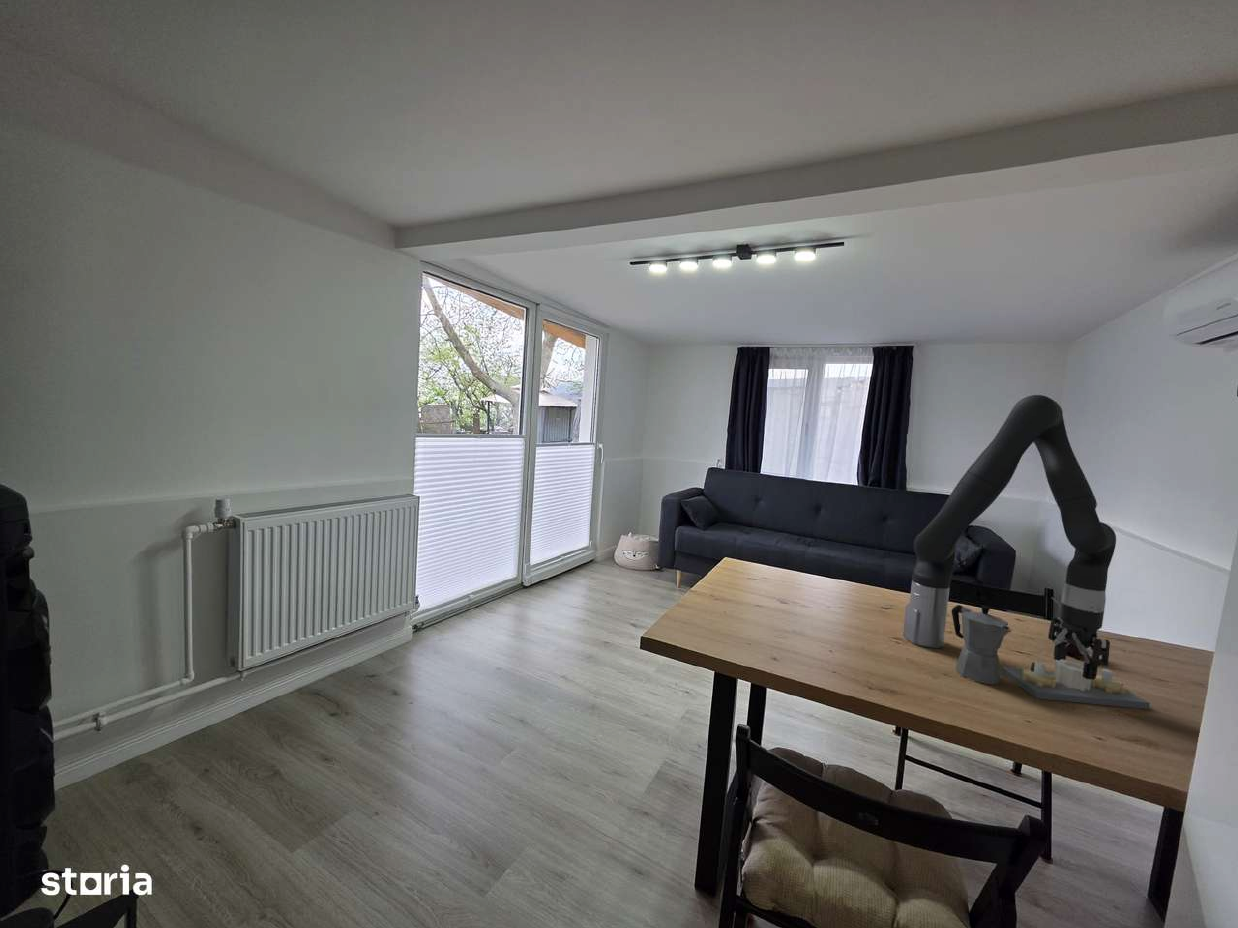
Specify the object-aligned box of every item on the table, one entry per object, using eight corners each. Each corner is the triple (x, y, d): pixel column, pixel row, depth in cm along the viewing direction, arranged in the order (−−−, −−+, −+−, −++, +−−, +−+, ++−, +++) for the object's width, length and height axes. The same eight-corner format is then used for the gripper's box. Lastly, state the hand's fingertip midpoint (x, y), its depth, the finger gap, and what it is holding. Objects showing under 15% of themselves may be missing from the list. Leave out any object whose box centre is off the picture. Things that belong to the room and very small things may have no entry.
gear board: (1036, 698, 115) (1039, 675, 114) (1001, 672, 126) (1004, 651, 126) (1148, 708, 112) (1152, 685, 112) (1102, 681, 124) (1105, 660, 124)
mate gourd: (1094, 662, 135) (1101, 609, 134) (1061, 657, 137) (1068, 605, 136) (1075, 650, 143) (1081, 599, 141) (1043, 646, 144) (1050, 596, 143)
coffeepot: (1018, 688, 119) (1027, 616, 117) (987, 691, 117) (996, 617, 115) (961, 657, 134) (968, 593, 132) (932, 659, 132) (939, 594, 130)
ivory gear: (1067, 689, 116) (1070, 671, 116) (1046, 675, 123) (1048, 657, 123) (1097, 692, 116) (1100, 673, 115) (1074, 677, 122) (1077, 660, 122)
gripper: (1043, 593, 125) (1035, 654, 126) (1091, 614, 111) (1081, 683, 112) (1074, 595, 124) (1066, 657, 126) (1127, 617, 110) (1117, 686, 112)
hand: (1073, 669), depth 119 cm, fingers open, 8 cm apart
